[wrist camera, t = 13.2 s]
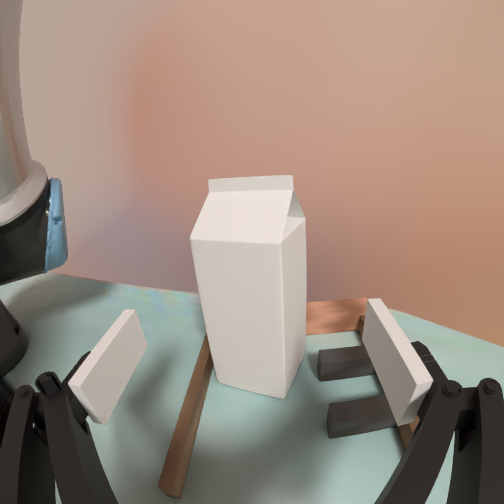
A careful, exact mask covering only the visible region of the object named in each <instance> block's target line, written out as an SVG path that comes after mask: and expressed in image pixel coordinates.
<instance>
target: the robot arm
mask: <svg viewBox="0 0 504 504" xmlns="http://www.w3.org/2000/svg"><path fill="white" fill-rule="evenodd" d="M22 3H23V0H0V286H1V285H4V284H8V283H11V282H14V281H18V280H21V279H25V278H28V277H32V276H35V275H39V274H42V273H43V274H44V273H47V271H49V270H52V269H54V268H57V267H60V266H62V265H63V264H64V263H65V262H66V260H67V256H68V248H67V237H66V227H65V217H64V206H63V193H62V185H61V180H60V179H58V178H55V179H54V178H51V179H49V180H48V177H47V173H46V170H45V167H44V166H43V165H42V164H41V163H39V162H37V161H35V160H31V157H30V152H29V147H28V142H27V136H26V131H25V125H24V118H23V110H22V101H21V90H20V75H19V36H20V21H21V11H22ZM362 341H363V343H364V345H365V348H366V350H367V352H368V354H369V357H370V359H371V361H372V364H373V366H374V368H375V371H376V373H377V375H378V378H379V380H380V383H381V385H382V388H383V390H384V392H385V395H386V397H387V400H388V402H389V405H390V408H391V410H392V413H393V415H394V418H395V421H396V423H397V426H401V425H404V424H408V423H411V422H413V421H414V419H415V417H416V415H418V417H419V420H420V421H419V423H418V425H417V427H416V428H415V430H414V432H413V433H412V434H413V436H412V438H411V440H410V442H409V444H408V446H407V448H406V450H405V452H404V454H403V456H402V458H401V460H400V462H399V464H398V466H397V467H396V469H395V471H394V473H393V474H392V476H391V478H390V480H389V481H388V483H387V484H386V486H385V488H384V489H383V491H382V492H381V494H380V496H379V497H378V499H377V500H376V502H375V503H374V504H425V502H426V500H427V498H428V496H429V494H430V492H431V490H432V488H433V486H434V483H435V481H436V479H437V477H438V474H439V472H440V469H441V467H442V464H443V462H444V459H445V457H446V454H447V451H448V448H449V445H450V442H451V439H452V436H453V433H454V431H455V442H454V455H453V465H452V473H451V480H450V487H449V493H448V498H447V503H446V504H504V399H503V393H502V388H501V386H500V384H499V383H498V382H497V381H496V380H494V379H492V378H484V379H483V380H481V381H480V383H479V384H478V386H477V387H470V388H462V386H461V385H460V384H459V383H458V382H456V381H453V380H448V379H447V377H446V376H445V374H444V373H443V371H442V369H441V368H440V366H439V365H438V363H437V362H436V360H435V359H434V357H433V356H432V355H431V353H430V351H429V350H428V348H427V347H426V346H425V345H423V344H422V343H420V342H419V341H417V342H412V343H410V342H409V340H408V339H407V337H406V335H405V334H404V332H403V331H402V329H401V328H400V326H399V325H398V323H397V322H396V320H395V319H394V317H393V316H392V315H391V313H390V312H389V310H388V309H387V307H386V306H385V305H384V303H383V302H382V300H381V299H380V298H377V299H367V307H366V315H365V322H364V329H363V335H362ZM147 347H148V346H147V343H146V340H145V337H144V334H143V331H142V328H141V325H140V322H139V319H138V315H137V312H136V310H129V309H125V310H124V311H123V313H122V314H121V315H120V316H119V317H118V319H117V320H116V321H115V322H114V324H113V325H112V326H111V327H110V329H109V330H108V331H107V332H106V334H105V335H104V336H103V337H102V339H101V340H100V341H99V342H98V344H97V345H96V346H95V348H94V349H93V350H92V351H89V352H87V353H86V354H85V355H83V356H82V357H81V358H80V360H79V361H78V362H77V364H76V365H75V366H74V367H73V369H72V370H71V371H70V373H69V374H68V375H67V377H66V378H65V379H64V381H63V382H62V383H61V382H60V380H59V379H58V377H57V375H56V374H55V373H54V372H50V371H49V372H45V373H43V374H41V375H40V376H38V377H37V379H36V381H35V385H36V386H37V388H38V389H39V391H40V392H35V391H34V389H33V388H32V386H30V385H23V386H21V387H19V388H18V389H17V390H16V392H15V395H14V398H13V401H12V405H11V408H10V412H9V416H8V419H7V423H6V428H5V432H4V436H3V441H2V446H1V452H0V504H56V499H55V480H56V484H57V488H58V492H59V495H60V499H61V502H62V504H118V502H117V500H116V498H115V496H114V493H113V491H112V489H111V487H110V484H109V482H108V480H107V477H106V475H105V472H104V470H103V467H102V464H101V462H100V459H99V456H98V453H97V451H96V448H95V445H94V441H93V438H92V435H91V432H90V428H89V425H88V423H87V421H86V420H85V419H86V417H87V416H88V415H89V417H90V418H91V420H92V421H93V422H95V423H98V424H102V425H106V423H107V421H108V419H109V417H110V416H111V414H112V412H113V410H114V408H115V406H116V404H117V402H118V400H119V398H120V396H121V395H122V393H123V391H124V389H125V387H126V385H127V383H128V381H129V380H130V378H131V376H132V374H133V372H134V370H135V369H136V367H137V365H138V363H139V361H140V360H141V358H142V356H143V354H144V352H145V351H146V349H147ZM26 348H27V338H26V335H25V333H24V331H23V329H22V327H21V325H20V324H19V323H18V322H17V320H16V319H15V318H14V317H13V315H12V314H11V313H10V312H9V310H8V309H7V308H6V306H5V305H4V304H3V302H2V301H1V299H0V377H2V376H3V375H5V374H6V373H7V372H9V371H10V370H11V369H12V368H13V367H14V366H15V365H16V364H17V363H18V362H19V360H20V359H21V358H22V356H23V354H24V353H25V350H26ZM33 423H34V424H35V426H34V428H33Z"/></svg>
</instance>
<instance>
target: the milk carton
mask: <svg viewBox="0 0 504 504" xmlns="http://www.w3.org/2000/svg"><path fill="white" fill-rule="evenodd" d="M208 186H209V194H208V196H207V199H206V201H205V203H204V206H203V208H202V210H201V212H200V215H199V217H198V220H197V222H196V224H195V227H194V229H193V232H192V234H191V237H190V241H191V247H192V254H193V260H194V266H195V272H196V278H197V284H198V290H199V295H200V301H201V306H202V311H203V317H204V322H205V327H206V332H207V337H208V341H209V346H210V351H211V355H212V360H213V364H214V369H215V373H216V377H217V381H218V382H220V383H223V384H226V385H229V386H233V387H236V388H240V389H244V390H247V391H251V392H255V393H259V394H263V395H267V396H272V397H276V398H281V399H284V398H285V397H286V395H287V393H288V391H289V389H290V386H291V384H292V382H293V380H294V377H295V375H296V373H297V371H298V368H299V366H300V364H301V361H302V359H303V357H304V354H305V342H306V224H305V216H304V214H303V211H302V209H301V206H300V204H299V202H298V199H297V197H296V194H295V192H294V190H293V176H292V175H284V176H256V177H239V178H225V179H224V178H223V179H210V180H208Z"/></svg>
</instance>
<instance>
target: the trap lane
mask: <svg viewBox="0 0 504 504" xmlns="http://www.w3.org/2000/svg"><path fill="white" fill-rule="evenodd" d="M367 299H368V298H356V299H345V300H334V301H321V302H307V303H306V335H313V334H325V333H336V332H346V331H355V330H358V331H359V333H360V335H361V338H362V335H363V329H364V322H365V315H366V307H367ZM213 365H214V364H213V360H212V355H211V351H210V346H209V341H208V337H207V333H206V336H205V339H204V342H203V345H202V348H201V351H200V354H199V357H198V360H197V363H196V366H195V369H194V372H193V375H192V378H191V381H190V384H189V387H188V390H187V393H186V397H185V400H184V403H183V406H182V409H181V412H180V415H179V418H178V422H177V425H176V428H175V431H174V434H173V438H172V441H171V444H170V447H169V450H168V454H167V457H166V460H165V463H164V467H163V470H162V473H161V477H160V480H159V483H158V487H159V488H160V489H161V490H162V491H163V492H164V493H165V494H166V495H167V496H171V497H176V498H181V494H182V490H183V486H184V482H185V478H186V473H187V469H188V465H189V461H190V457H191V453H192V449H193V445H194V441H195V437H196V433H197V428H198V424H199V420H200V416H201V412H202V408H203V404H204V400H205V396H206V392H207V388H208V385H209V381H210V377H211V373H212V369H213ZM317 369H318V374H319V380H320V381H329V380H338V379H346V378H353V377H360V376H367V375H373V374H377V373H376V371H375V368H374V366H373V364H372V361H371V359H370V357H369V354H368V352H367V350H366V348H365V345H362V346H354V347H345V348H336V349H327V350H319V354H318V367H317ZM384 393H385V392H384ZM419 421H420V420H419V417H418V415H416V417H415V419H414V421H413V422H411V423H408V424H404V425H401V426H397V423H396V421H395V418H394V415H393V413H392V410H391V408H390V405H389V402H388V400H387V397H386V395H381V396H376V397H371V398H365V399H359V400H353V401H346V402H339V403H331V404H330V405H329V410H328V415H327V427H328V433H329V439H330V438H337V437H344V436H351V435H356V434H362V433H367V432H372V431H377V430H382V429H386V428H390V427H394V426H397V428H398V431H399V433H400V436H401V439H402V442H403V445H404V448H405V450H406V448H407V446H408V444H409V442H410V440H411V438H412V436H413V434H412V433H413V432H414V430H415V428H416V427H417V425H418V423H419Z"/></svg>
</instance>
